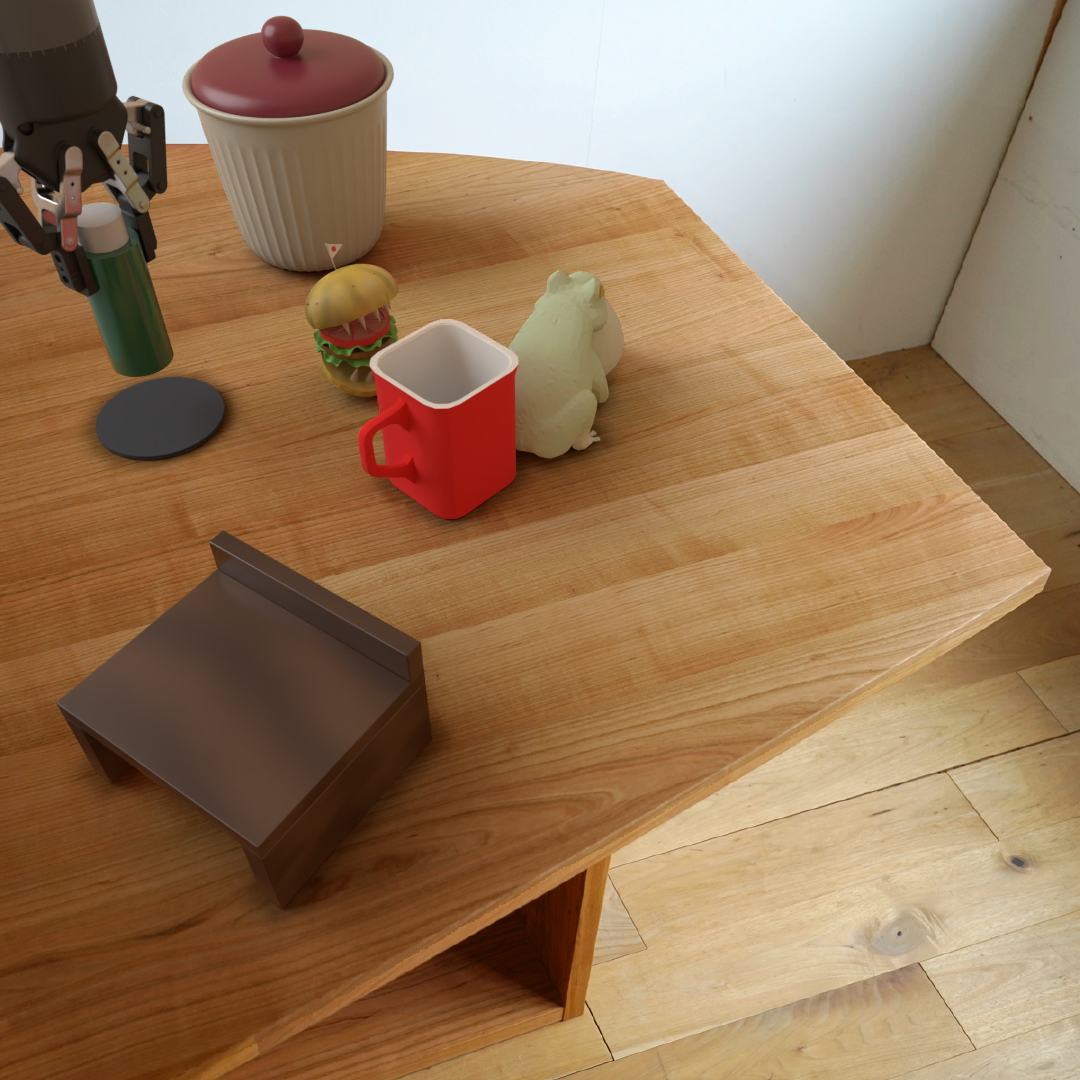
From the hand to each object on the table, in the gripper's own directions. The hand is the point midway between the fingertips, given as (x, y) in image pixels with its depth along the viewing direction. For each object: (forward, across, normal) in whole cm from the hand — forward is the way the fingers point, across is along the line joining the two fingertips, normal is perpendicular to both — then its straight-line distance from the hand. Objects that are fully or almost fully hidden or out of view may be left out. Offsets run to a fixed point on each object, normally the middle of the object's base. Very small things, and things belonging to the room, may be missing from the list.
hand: (114, 273), depth 74 cm
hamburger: (+14, -13, +10) cm, 21 cm away
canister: (+14, -27, -8) cm, 31 cm away
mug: (+14, -6, +23) cm, 27 cm away
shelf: (+13, +18, +29) cm, 37 cm away
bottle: (+7, 0, 0) cm, 7 cm away
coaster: (+13, 0, 0) cm, 13 cm away
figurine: (+14, -20, +25) cm, 35 cm away
